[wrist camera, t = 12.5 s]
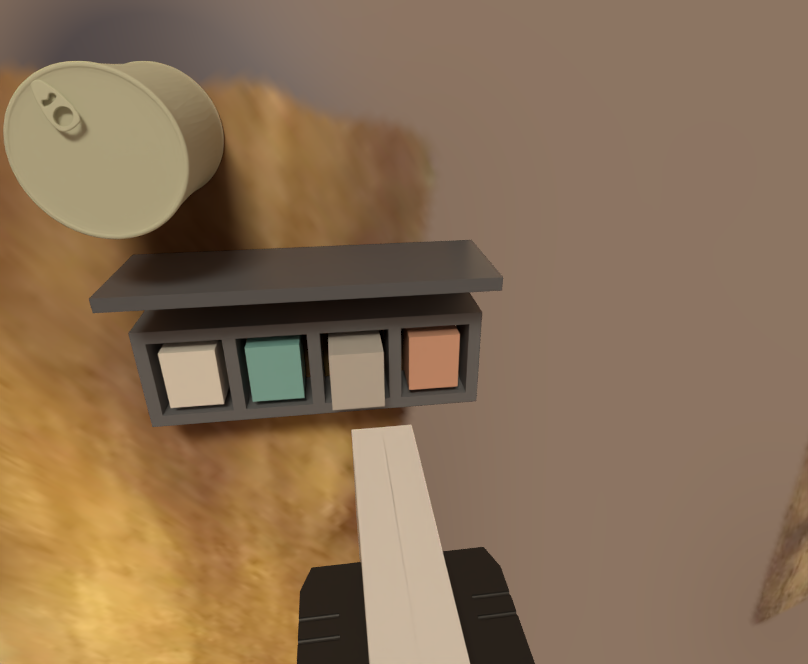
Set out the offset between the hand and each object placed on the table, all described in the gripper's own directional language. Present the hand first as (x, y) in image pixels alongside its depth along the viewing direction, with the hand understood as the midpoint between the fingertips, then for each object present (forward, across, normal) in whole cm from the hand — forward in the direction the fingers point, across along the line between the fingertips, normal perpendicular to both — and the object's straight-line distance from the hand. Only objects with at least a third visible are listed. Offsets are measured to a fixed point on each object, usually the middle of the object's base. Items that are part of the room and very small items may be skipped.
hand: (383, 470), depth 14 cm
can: (+33, -13, +5) cm, 35 cm away
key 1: (+32, -13, -13) cm, 37 cm away
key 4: (+32, +7, -13) cm, 35 cm away
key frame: (+32, -3, -13) cm, 35 cm away
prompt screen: (+32, -3, -4) cm, 33 cm away
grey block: (+30, 0, -13) cm, 32 cm away
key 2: (+32, -6, -13) cm, 35 cm away
